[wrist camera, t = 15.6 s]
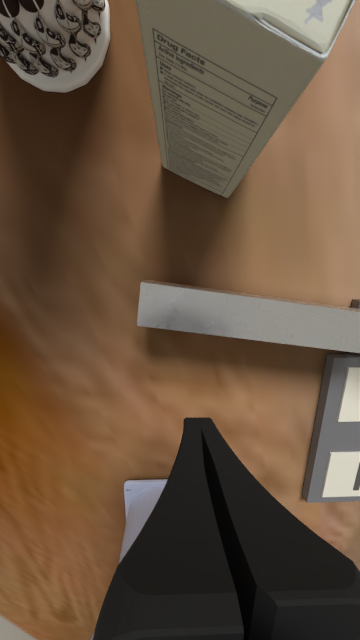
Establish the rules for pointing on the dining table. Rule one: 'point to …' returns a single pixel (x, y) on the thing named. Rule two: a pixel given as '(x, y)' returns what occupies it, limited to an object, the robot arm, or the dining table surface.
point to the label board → (336, 434)
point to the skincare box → (229, 77)
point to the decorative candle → (55, 41)
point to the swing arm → (248, 316)
